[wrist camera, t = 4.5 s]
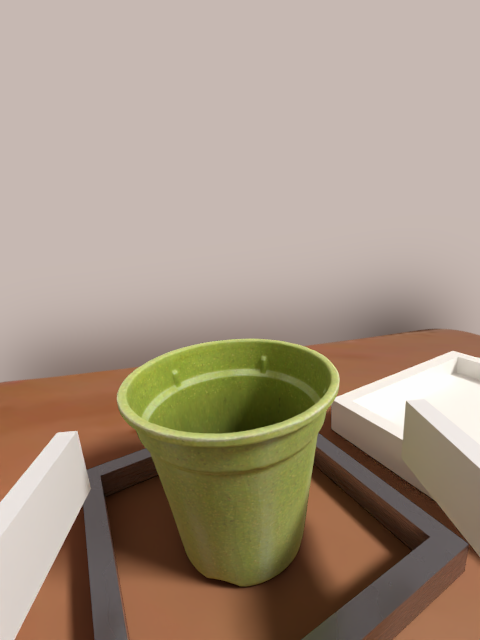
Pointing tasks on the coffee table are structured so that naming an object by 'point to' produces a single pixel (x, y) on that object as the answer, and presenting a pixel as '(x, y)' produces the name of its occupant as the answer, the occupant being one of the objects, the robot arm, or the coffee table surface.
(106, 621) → the grey square frame
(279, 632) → the coffee table surface
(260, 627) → the coffee table surface
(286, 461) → the plant pot
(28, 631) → the coffee table surface
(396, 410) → the tray
